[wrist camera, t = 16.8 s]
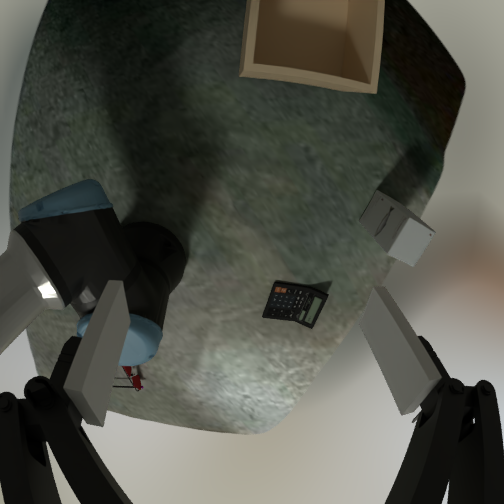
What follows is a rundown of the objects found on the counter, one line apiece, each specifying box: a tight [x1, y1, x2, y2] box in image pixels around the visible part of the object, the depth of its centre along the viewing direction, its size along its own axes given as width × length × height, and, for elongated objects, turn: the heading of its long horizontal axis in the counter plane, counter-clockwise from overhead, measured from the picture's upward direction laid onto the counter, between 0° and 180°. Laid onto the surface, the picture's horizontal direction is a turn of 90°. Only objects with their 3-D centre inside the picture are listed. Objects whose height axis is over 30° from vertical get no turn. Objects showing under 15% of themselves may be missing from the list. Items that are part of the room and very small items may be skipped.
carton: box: [239, 0, 385, 94], centre depth 32 cm, size 17×18×12 cm
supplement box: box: [359, 190, 436, 267], centre depth 49 cm, size 7×7×13 cm
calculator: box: [262, 282, 329, 329], centre depth 62 cm, size 9×12×3 cm
